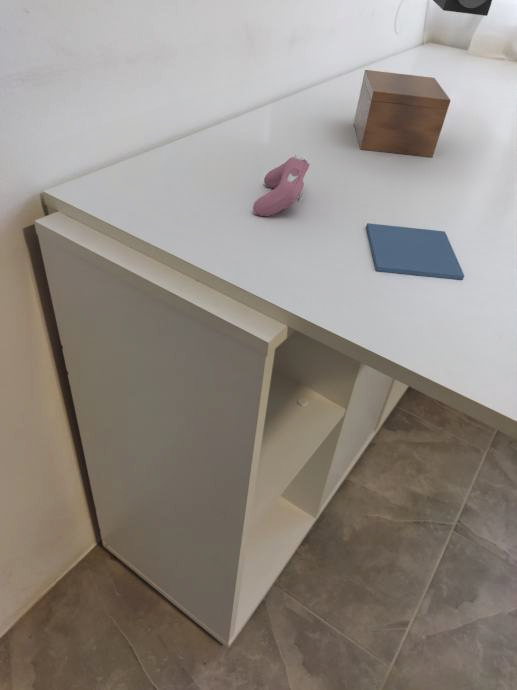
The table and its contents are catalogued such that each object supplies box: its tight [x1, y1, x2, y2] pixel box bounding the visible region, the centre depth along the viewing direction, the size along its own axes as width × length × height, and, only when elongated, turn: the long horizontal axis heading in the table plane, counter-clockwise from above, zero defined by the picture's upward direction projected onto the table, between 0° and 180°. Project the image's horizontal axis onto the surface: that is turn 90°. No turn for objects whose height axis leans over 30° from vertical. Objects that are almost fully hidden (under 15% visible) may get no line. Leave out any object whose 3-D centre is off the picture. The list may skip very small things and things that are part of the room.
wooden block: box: [353, 69, 452, 158], centre depth 89 cm, size 12×12×9 cm
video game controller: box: [252, 154, 310, 217], centre depth 69 cm, size 10×5×7 cm, turn 170°
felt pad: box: [365, 222, 465, 281], centre depth 64 cm, size 10×10×1 cm
